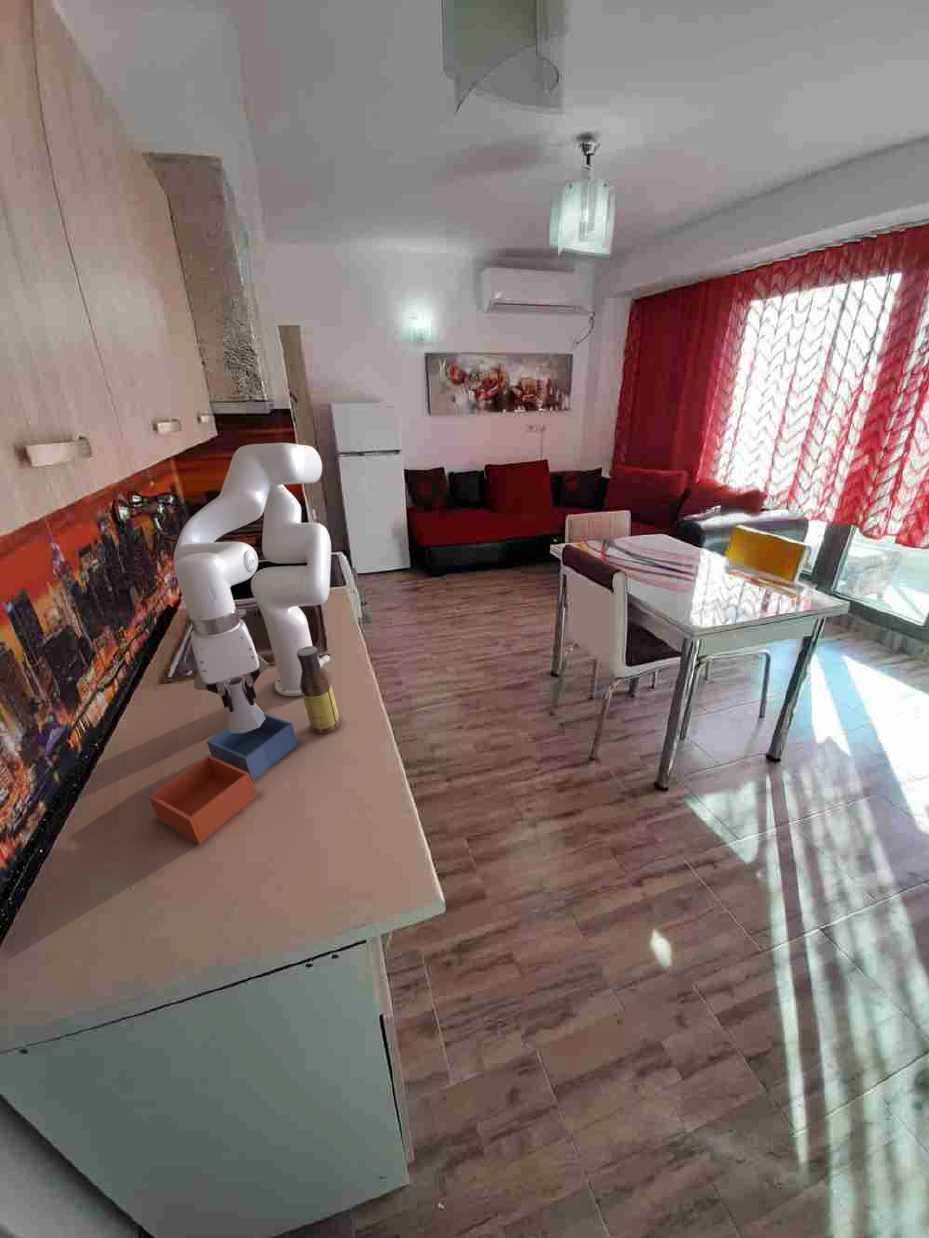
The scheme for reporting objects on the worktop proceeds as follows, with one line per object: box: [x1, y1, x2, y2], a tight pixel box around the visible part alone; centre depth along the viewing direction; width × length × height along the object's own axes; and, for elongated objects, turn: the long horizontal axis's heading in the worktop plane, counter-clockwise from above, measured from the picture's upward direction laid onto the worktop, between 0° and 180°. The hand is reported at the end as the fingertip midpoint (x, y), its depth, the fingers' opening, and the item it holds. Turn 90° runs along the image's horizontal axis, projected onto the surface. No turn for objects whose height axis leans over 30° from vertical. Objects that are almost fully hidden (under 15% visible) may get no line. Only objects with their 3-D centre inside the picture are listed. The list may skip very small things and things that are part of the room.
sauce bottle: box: [297, 645, 340, 734], centre depth 102 cm, size 6×6×20 cm
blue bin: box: [206, 712, 299, 782], centre depth 98 cm, size 12×12×6 cm
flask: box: [225, 676, 266, 733], centre depth 93 cm, size 7×7×10 cm
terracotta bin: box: [147, 754, 257, 845], centre depth 85 cm, size 12×12×6 cm
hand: (241, 704), depth 94 cm, fingers closed on flask, 3 cm apart
